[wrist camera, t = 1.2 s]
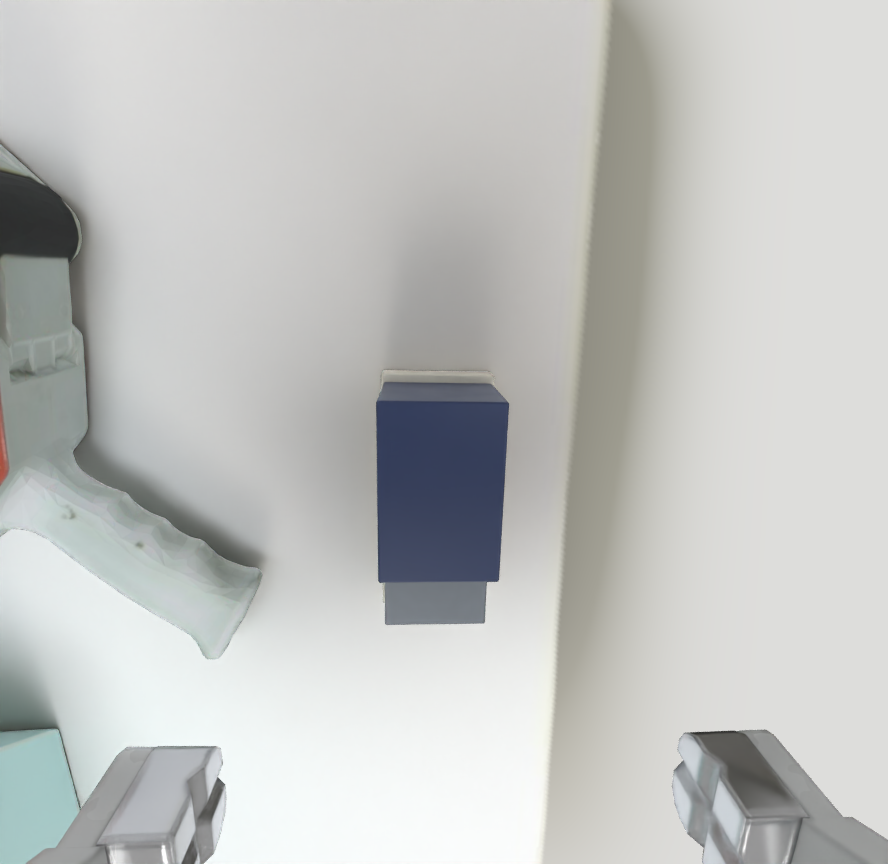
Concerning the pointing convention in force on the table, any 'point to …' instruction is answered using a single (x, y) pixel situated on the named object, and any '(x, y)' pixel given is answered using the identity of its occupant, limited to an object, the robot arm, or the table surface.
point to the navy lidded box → (439, 493)
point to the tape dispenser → (65, 424)
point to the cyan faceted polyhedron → (33, 794)
